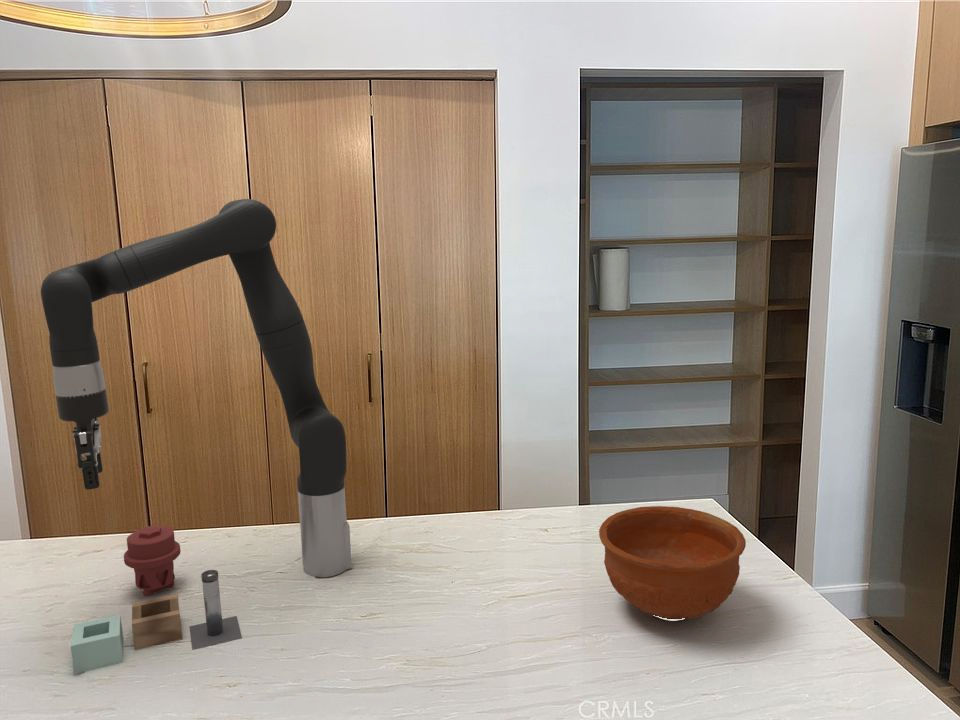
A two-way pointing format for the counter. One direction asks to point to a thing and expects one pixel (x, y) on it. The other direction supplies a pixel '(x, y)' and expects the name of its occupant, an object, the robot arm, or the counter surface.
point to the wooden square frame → (156, 621)
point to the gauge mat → (204, 640)
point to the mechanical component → (152, 558)
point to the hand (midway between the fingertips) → (94, 480)
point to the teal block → (97, 643)
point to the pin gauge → (212, 602)
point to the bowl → (672, 559)
